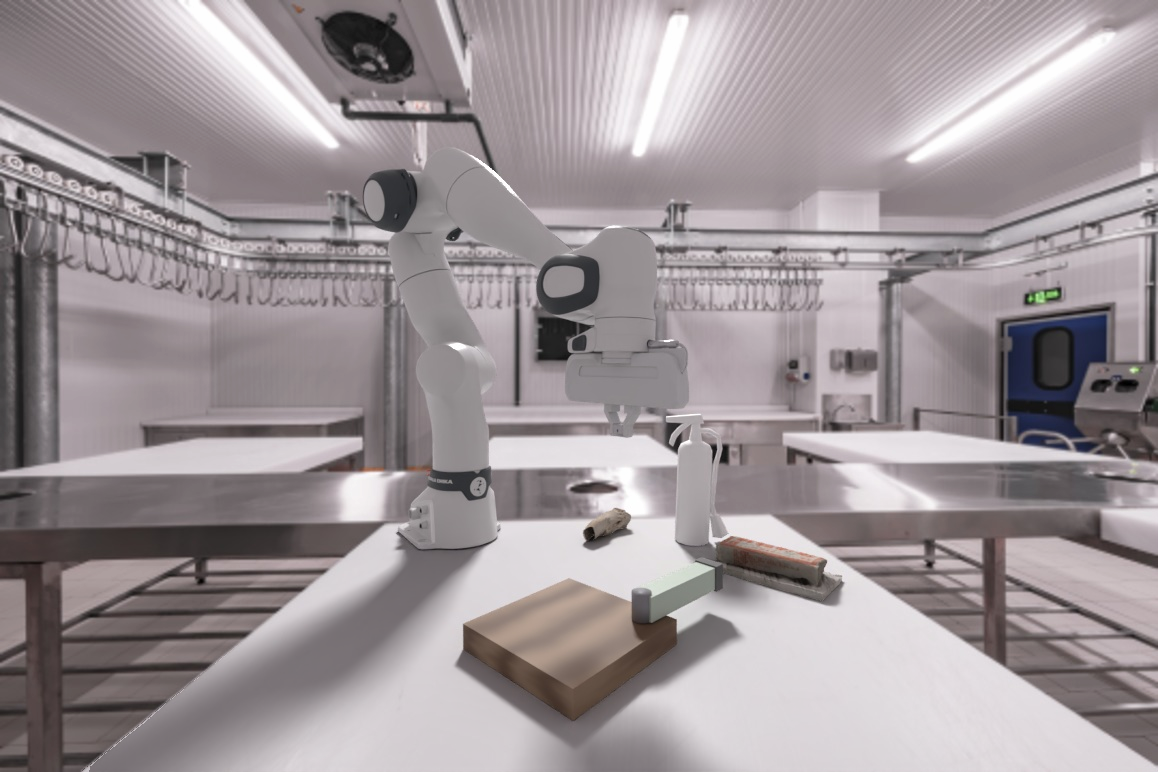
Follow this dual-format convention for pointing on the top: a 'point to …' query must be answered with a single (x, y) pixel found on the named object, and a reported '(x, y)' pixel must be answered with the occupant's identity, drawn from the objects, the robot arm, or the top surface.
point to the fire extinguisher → (696, 484)
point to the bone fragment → (607, 523)
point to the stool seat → (568, 644)
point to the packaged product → (776, 567)
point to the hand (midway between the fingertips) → (621, 436)
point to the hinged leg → (676, 590)
